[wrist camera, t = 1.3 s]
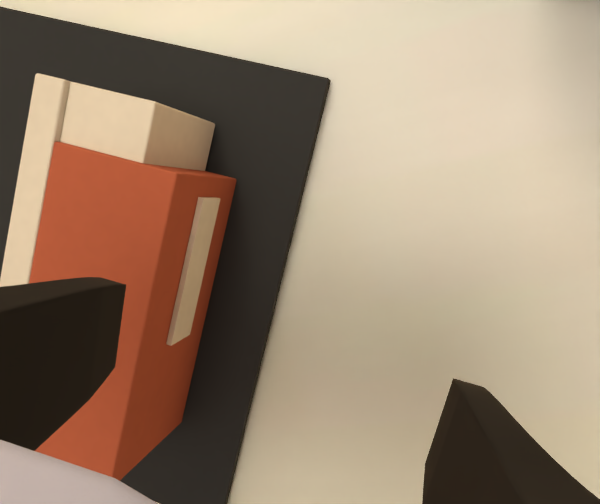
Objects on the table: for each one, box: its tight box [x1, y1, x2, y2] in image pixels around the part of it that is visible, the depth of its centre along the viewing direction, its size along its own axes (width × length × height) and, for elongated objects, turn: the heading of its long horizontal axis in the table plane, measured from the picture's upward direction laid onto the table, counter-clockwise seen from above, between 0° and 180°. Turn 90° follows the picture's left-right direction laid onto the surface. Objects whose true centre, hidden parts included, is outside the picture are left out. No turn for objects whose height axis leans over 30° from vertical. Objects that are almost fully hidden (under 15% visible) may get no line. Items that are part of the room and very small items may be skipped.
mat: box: [0, 7, 330, 504], centre depth 23 cm, size 18×16×1 cm
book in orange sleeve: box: [0, 73, 236, 481], centre depth 20 cm, size 12×5×6 cm, turn 166°
